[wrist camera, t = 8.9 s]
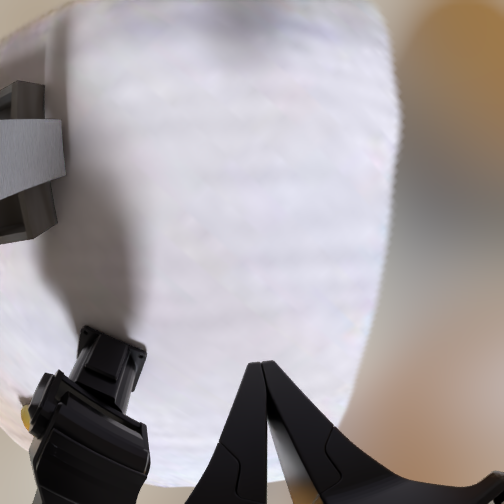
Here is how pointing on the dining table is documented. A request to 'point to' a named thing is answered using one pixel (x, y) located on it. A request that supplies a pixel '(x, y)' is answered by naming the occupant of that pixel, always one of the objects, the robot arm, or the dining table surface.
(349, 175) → the dining table surface
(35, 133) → the slider
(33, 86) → the tunnel
